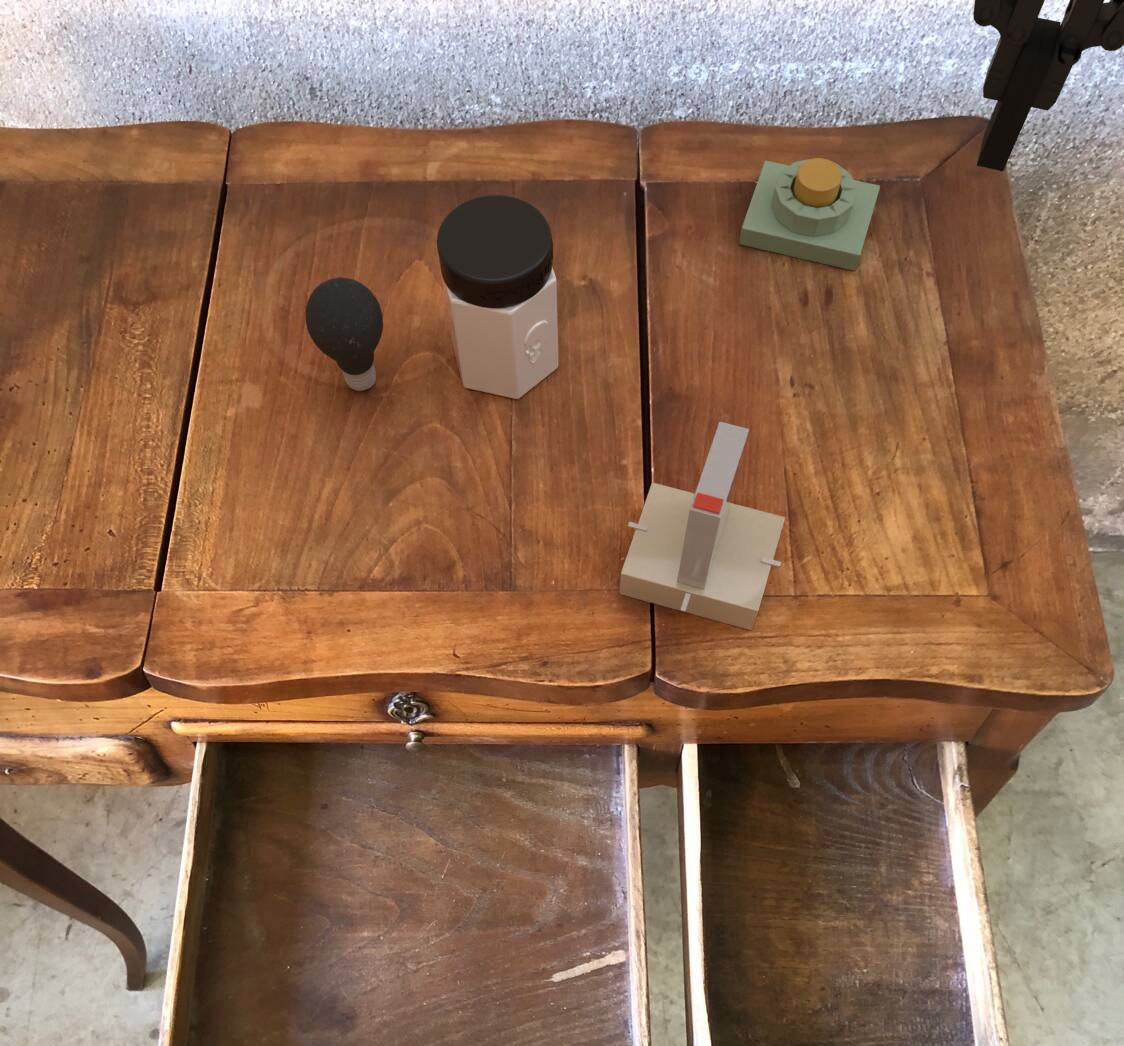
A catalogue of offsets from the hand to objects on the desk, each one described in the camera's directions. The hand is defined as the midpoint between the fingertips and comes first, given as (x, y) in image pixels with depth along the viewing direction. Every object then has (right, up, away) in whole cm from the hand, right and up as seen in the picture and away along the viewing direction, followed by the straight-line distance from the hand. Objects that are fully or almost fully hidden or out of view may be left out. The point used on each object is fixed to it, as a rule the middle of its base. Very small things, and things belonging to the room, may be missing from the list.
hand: (994, 151), depth 59 cm
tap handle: (-14, -19, +16) cm, 28 cm away
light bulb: (-40, -4, +25) cm, 48 cm away
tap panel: (-14, -20, +19) cm, 31 cm away
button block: (-3, +11, +30) cm, 33 cm away
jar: (-29, -2, +26) cm, 39 cm away
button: (-3, +12, +27) cm, 30 cm away
